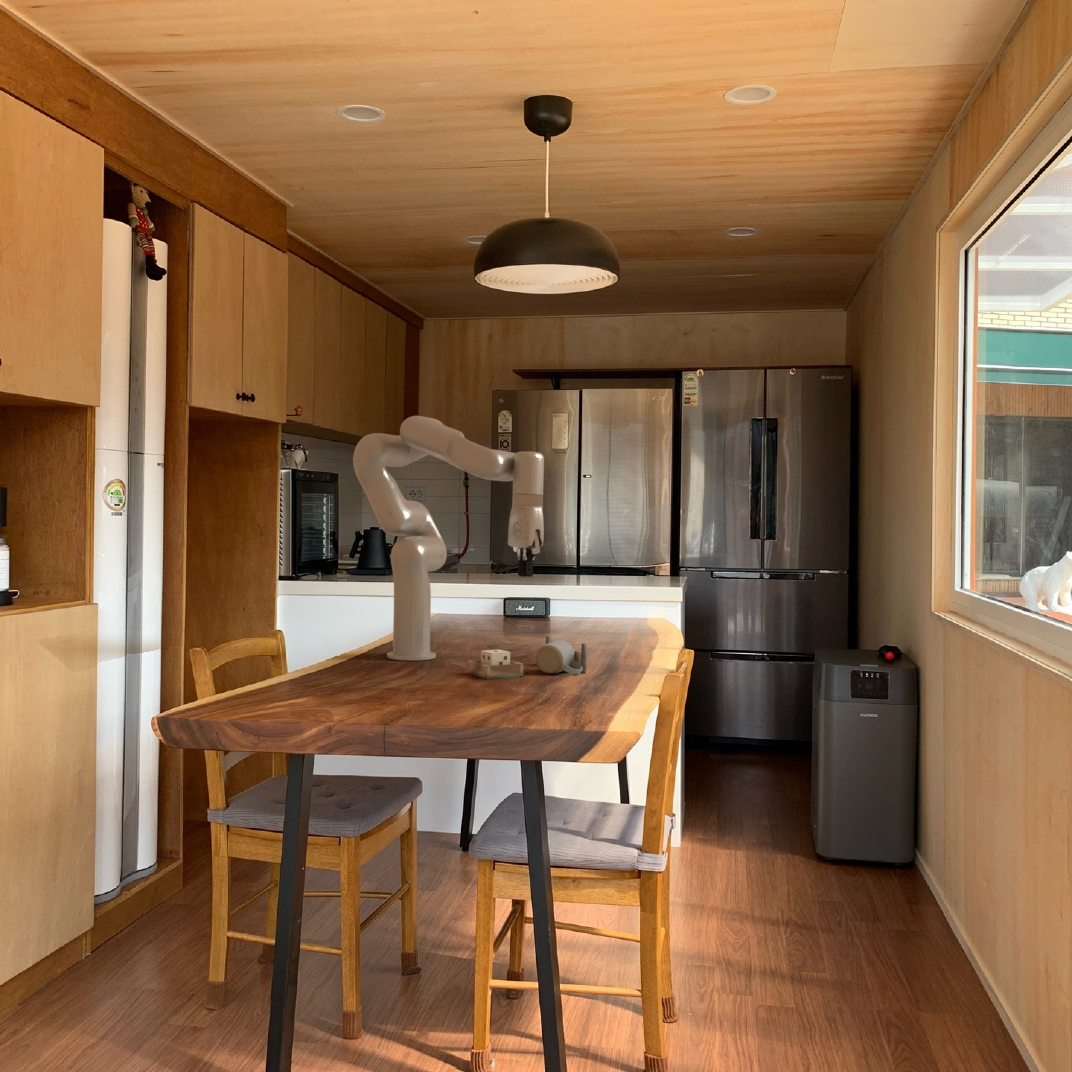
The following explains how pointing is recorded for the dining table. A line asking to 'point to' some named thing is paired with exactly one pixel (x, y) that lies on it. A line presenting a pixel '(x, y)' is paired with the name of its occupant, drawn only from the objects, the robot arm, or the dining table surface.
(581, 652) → the scoring rail
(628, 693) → the dining table surface
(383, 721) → the dining table surface
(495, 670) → the felt tray
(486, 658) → the die
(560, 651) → the ceramic mug
